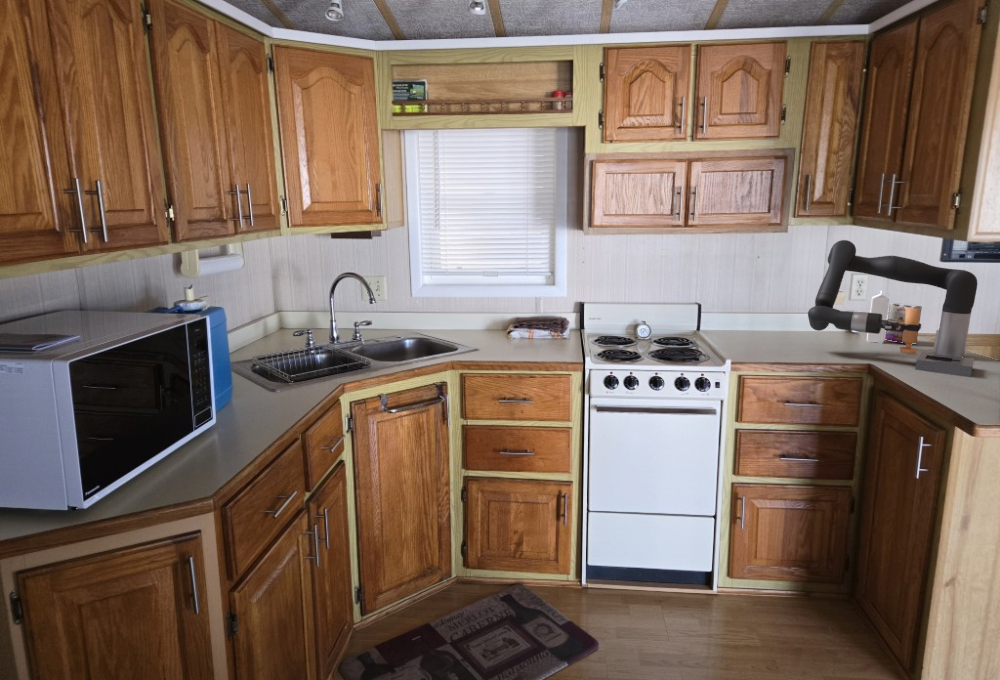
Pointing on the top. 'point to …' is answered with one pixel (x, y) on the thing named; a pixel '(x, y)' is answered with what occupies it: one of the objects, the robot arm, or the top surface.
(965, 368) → the keyhole plate
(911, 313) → the post
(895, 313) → the candy bar box
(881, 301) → the milk
